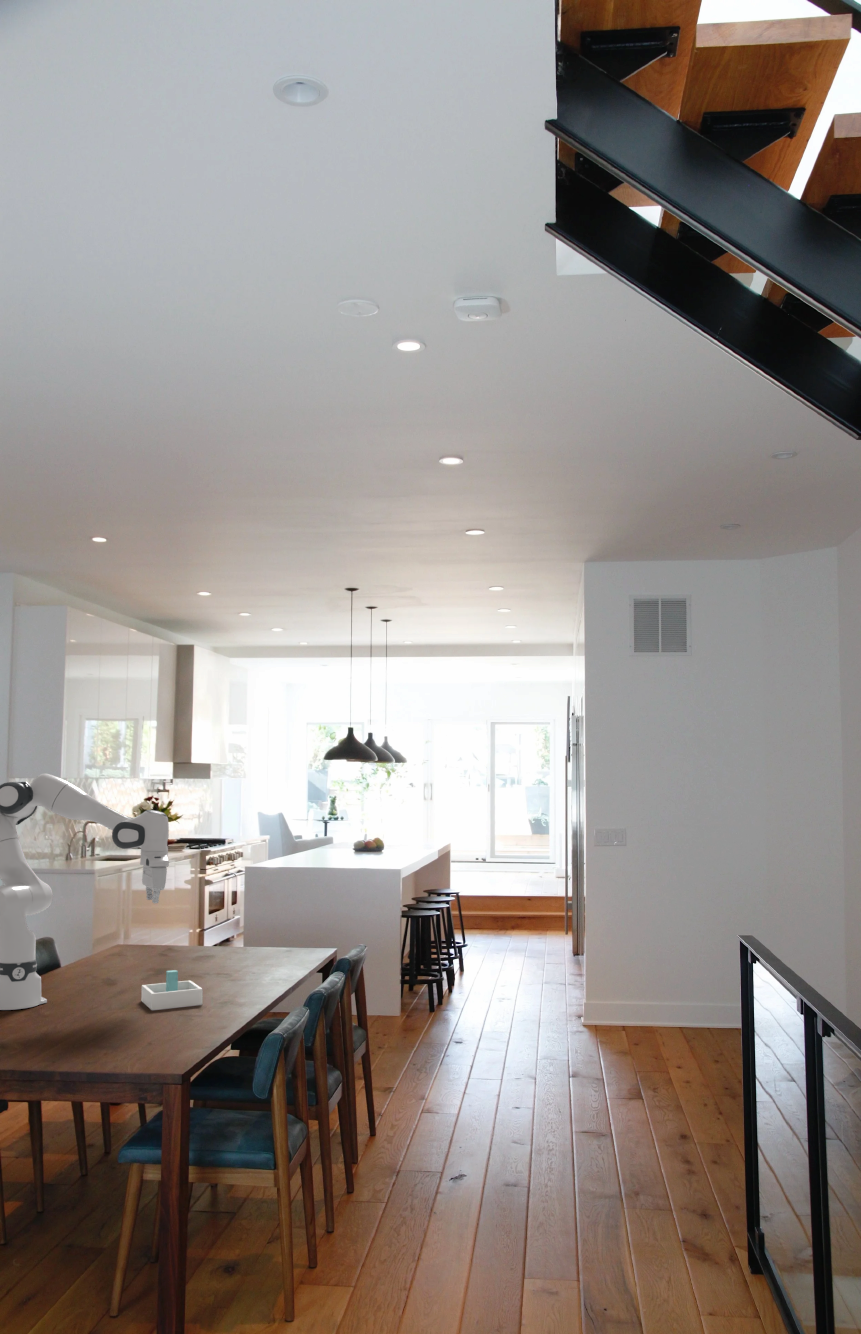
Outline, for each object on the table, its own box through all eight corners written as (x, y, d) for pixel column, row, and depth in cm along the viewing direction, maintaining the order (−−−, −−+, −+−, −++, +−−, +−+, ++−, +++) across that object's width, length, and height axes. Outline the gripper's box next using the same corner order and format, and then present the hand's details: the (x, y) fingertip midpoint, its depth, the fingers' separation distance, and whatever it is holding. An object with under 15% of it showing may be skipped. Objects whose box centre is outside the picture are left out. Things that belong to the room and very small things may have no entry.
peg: (165, 1002, 335) (166, 971, 336) (175, 1001, 336) (175, 970, 337) (168, 1004, 332) (168, 972, 333) (177, 1003, 334) (177, 971, 335)
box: (141, 1001, 338) (141, 985, 338) (190, 995, 345) (190, 980, 346) (151, 1010, 324) (152, 994, 324) (202, 1004, 331) (202, 988, 331)
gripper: (138, 857, 354) (136, 898, 353) (150, 862, 336) (148, 905, 334) (157, 856, 357) (155, 897, 355) (170, 861, 339) (168, 904, 337)
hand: (152, 901), depth 345 cm, fingers open, 8 cm apart
